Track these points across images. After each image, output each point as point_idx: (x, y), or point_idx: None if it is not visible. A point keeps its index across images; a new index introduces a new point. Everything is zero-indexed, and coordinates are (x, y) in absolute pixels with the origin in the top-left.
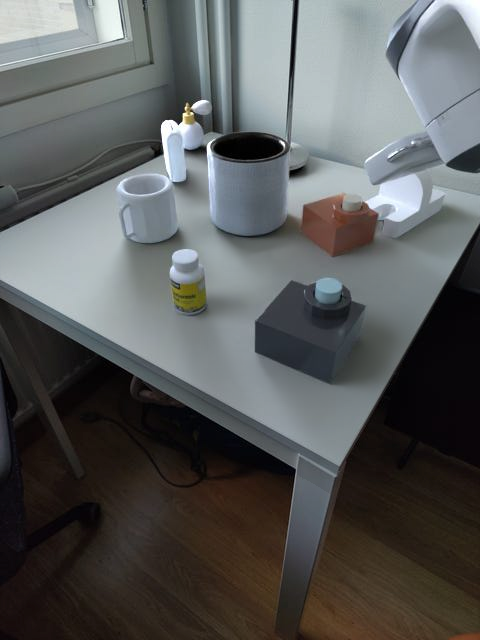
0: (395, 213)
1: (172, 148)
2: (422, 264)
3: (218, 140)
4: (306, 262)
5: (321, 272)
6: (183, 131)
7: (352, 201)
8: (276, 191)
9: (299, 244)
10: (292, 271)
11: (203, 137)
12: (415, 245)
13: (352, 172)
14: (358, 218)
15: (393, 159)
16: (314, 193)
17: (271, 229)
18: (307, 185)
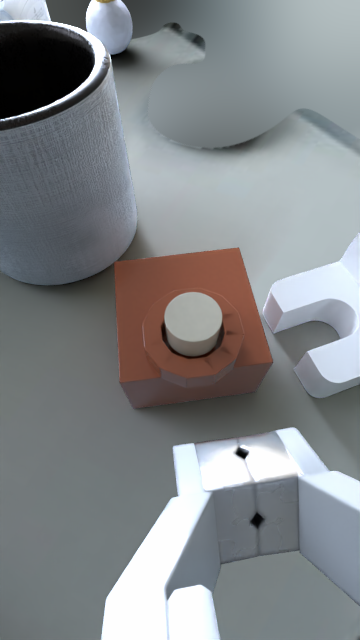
0: (342, 345)
1: None
2: None
3: None
4: (68, 404)
5: (72, 455)
6: (90, 15)
7: (179, 332)
8: (43, 215)
9: (98, 337)
10: (18, 423)
11: (128, 33)
12: (352, 447)
13: (340, 164)
14: (185, 382)
15: None
16: (231, 199)
17: (63, 282)
18: (233, 175)
